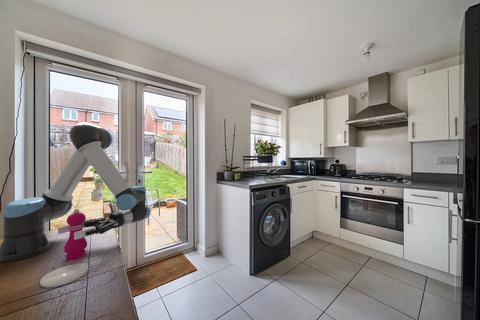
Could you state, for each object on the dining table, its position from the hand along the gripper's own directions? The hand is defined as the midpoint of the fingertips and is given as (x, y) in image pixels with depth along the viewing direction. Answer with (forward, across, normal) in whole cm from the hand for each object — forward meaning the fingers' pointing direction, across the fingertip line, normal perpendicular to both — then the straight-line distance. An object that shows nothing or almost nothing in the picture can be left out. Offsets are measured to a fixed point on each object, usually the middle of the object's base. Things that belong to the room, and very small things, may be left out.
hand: (66, 233), depth 73 cm
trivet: (+5, -13, -11) cm, 18 cm away
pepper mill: (-3, 0, -11) cm, 12 cm away
